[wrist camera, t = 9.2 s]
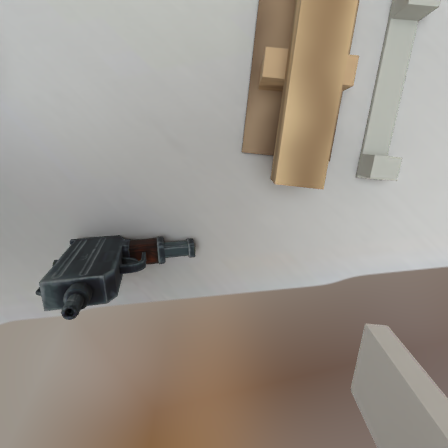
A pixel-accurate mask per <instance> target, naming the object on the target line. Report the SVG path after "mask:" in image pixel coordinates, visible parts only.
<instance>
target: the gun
mask: <svg viewBox="0 0 448 448" xmlns="http://www.w3.org/2000/svg"><path fill="white" fill-rule="evenodd" d="M70 244H71V246H70V247H69V248H68V249H67V250H66V252H65V253H64V254H63V255H62V256H61V257H60V259H59V260H54V262H53V267H52V268H51V269H50V270H49V272H48V273H47V274H46V275H45V276H44V277H43V279H42V280H41V281H40V282H39V285H40V287H39V289H38V290H37V291H36V295H39V296H42V301H43V306H44V311H50V310H58V309H62V312H61V314H62V316H63V317H64V318H65V319H68V320H71V319H74V318H76V316H77V315H78V314H79V312H80V310H81V309H84V308H85V307H86V306H90V305H98V304H106V303H108V302H110V301H111V300H113V299H114V298H115V297H117V296H118V292H119V288H120V284H121V280H122V276H123V274H125V273H133V272H137V271H140V270H142V269H144V268H145V267H146V264H155V263H159V264H164V263H165V258H168V257H178V256H187V255H188V256H189V257H195V245H194V241H193V239H186V241H177V242H166V243H164V240H163V237H162V236H161V237H157V238H152V239H145V240H130V239H127V240H124V238H122V237H121V236H120V235H118V236H106V237H94V238H83V239H71V240H70Z"/></svg>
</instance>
